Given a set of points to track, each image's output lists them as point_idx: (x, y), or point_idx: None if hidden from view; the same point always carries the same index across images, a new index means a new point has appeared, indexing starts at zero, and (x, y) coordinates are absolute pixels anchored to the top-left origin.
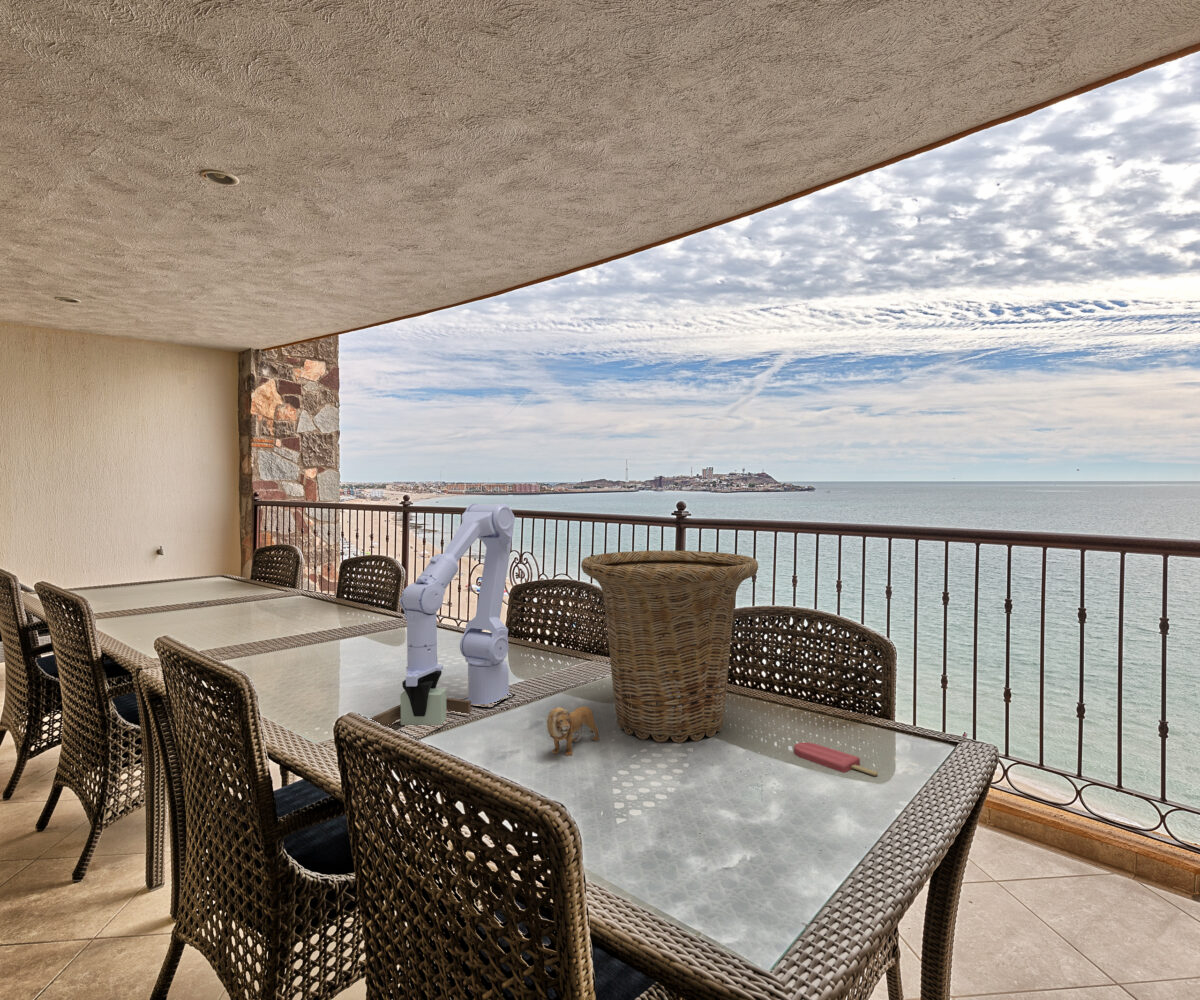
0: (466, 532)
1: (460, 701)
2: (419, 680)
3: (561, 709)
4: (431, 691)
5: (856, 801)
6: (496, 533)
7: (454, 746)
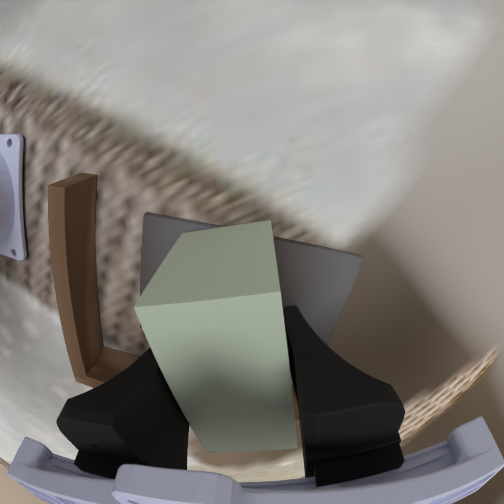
0: None
1: (64, 230)
2: (404, 460)
3: None
4: (217, 369)
5: None
6: None
7: (407, 108)
